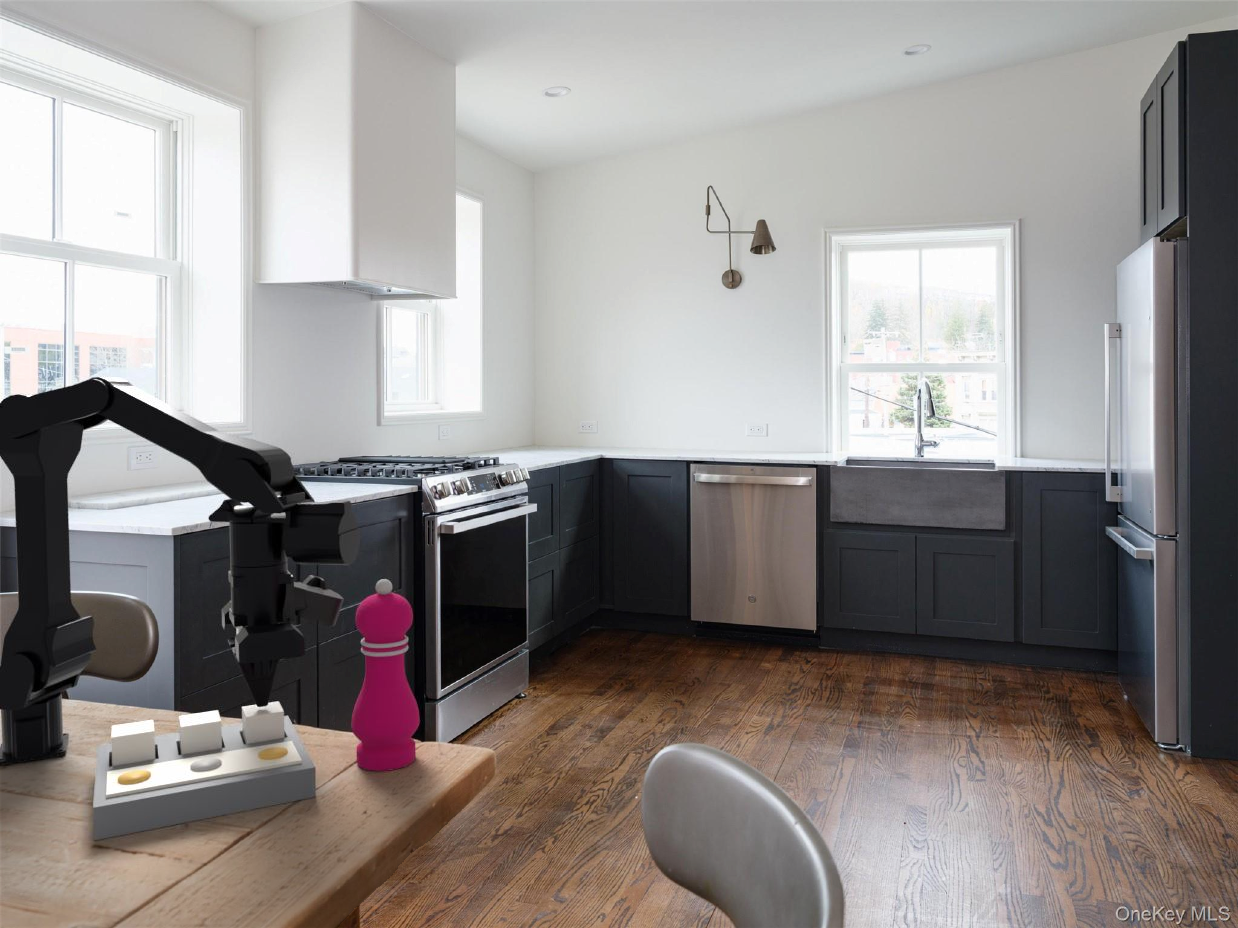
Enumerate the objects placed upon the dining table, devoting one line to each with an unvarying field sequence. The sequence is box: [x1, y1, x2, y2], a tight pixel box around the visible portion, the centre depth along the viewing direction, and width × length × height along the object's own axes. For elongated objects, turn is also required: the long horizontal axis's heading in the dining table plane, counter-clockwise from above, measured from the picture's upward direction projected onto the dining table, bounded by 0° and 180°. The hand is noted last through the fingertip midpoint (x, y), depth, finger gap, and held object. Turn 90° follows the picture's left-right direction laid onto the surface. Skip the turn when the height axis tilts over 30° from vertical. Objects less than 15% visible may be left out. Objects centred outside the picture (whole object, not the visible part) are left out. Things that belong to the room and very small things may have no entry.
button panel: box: [92, 715, 317, 842], centre depth 92 cm, size 17×19×4 cm
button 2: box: [241, 701, 285, 744], centre depth 98 cm, size 4×4×3 cm
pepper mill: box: [350, 578, 421, 772], centre depth 98 cm, size 7×7×20 cm
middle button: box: [178, 709, 222, 755], centre depth 95 cm, size 4×4×3 cm
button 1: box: [110, 719, 156, 766], centre depth 92 cm, size 4×4×3 cm
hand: (262, 705), depth 98 cm, fingers closed
